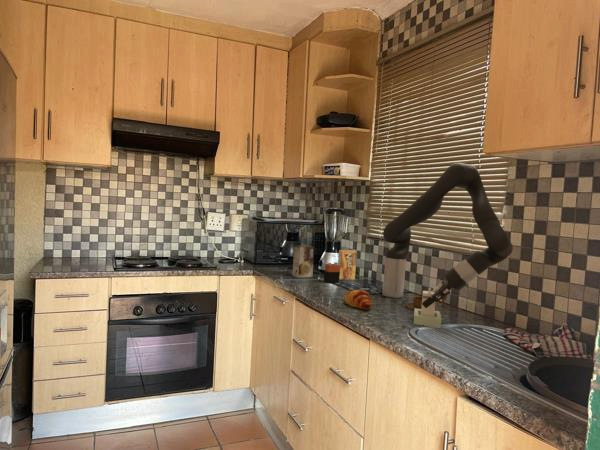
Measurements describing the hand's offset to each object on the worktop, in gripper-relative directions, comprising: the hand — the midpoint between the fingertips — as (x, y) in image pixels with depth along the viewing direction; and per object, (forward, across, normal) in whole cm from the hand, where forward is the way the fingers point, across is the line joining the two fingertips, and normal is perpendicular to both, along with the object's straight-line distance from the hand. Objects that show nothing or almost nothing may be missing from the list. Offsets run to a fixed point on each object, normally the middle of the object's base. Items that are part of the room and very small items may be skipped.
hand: (423, 303), depth 160 cm
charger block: (+3, 0, +5) cm, 6 cm away
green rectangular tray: (+3, 0, +6) cm, 7 cm away
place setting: (+2, -22, +8) cm, 23 cm away
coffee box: (+47, -62, -38) cm, 87 cm away
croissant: (+22, -12, -12) cm, 28 cm away
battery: (+35, -55, -26) cm, 70 cm away
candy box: (+32, -70, -22) cm, 80 cm away
